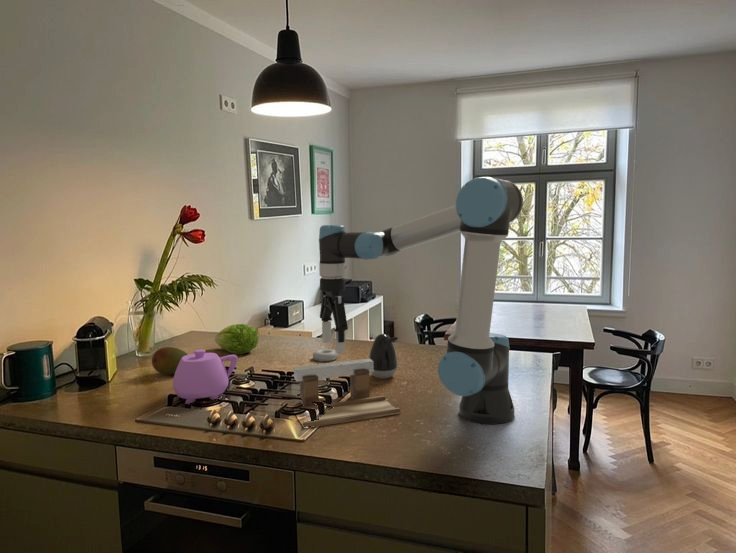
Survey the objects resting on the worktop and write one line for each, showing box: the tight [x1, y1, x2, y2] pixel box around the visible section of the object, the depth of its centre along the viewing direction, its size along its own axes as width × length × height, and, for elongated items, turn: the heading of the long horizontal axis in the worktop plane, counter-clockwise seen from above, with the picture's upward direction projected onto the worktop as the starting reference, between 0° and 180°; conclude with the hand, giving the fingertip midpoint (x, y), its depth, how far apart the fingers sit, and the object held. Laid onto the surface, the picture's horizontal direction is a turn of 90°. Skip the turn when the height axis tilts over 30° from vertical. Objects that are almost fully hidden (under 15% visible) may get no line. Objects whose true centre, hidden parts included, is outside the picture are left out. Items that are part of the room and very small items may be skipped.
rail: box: [293, 358, 374, 383], centre depth 159 cm, size 4×24×4 cm, turn 111°
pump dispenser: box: [368, 333, 399, 380], centre depth 183 cm, size 10×10×15 cm
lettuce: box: [214, 323, 259, 355], centre depth 221 cm, size 13×22×14 cm
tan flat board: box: [301, 395, 401, 427], centre depth 149 cm, size 12×28×1 cm, turn 111°
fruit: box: [151, 346, 189, 375], centre depth 190 cm, size 12×12×10 cm
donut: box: [312, 348, 339, 363], centre depth 208 cm, size 10×3×10 cm
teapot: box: [172, 348, 239, 405], centre depth 167 cm, size 20×20×15 cm
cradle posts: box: [299, 370, 371, 407], centre depth 159 cm, size 6×20×9 cm, turn 111°
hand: (333, 347), depth 158 cm, fingers open, 13 cm apart
